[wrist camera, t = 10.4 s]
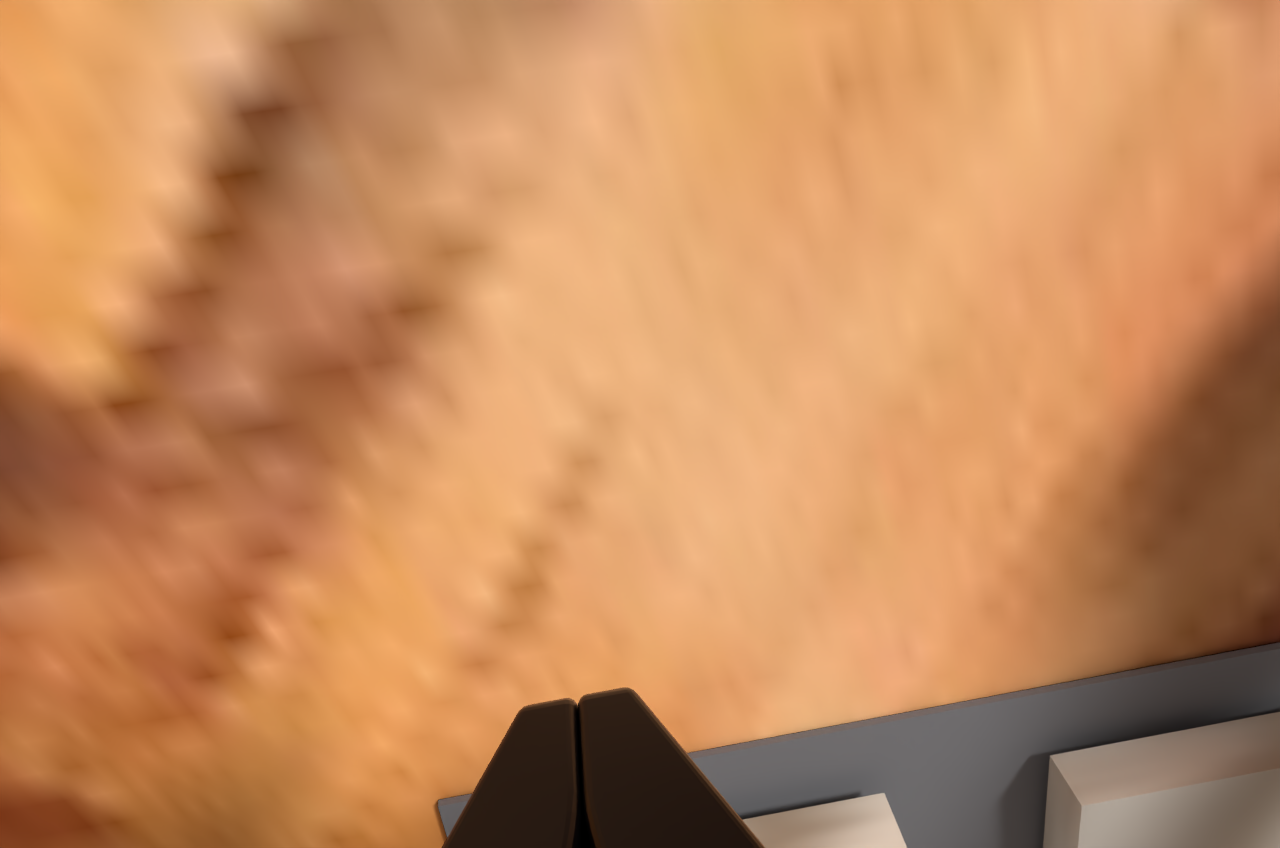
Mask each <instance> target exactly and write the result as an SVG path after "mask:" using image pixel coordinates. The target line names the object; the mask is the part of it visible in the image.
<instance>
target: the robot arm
mask: <svg viewBox="0 0 1280 848" xmlns="http://www.w3.org/2000/svg"><path fill="white" fill-rule="evenodd" d="M442 848H765V847H764V845H763V844H762V843H761V842H760V841H759V839H758V838H757V837H756V836H755V835H754V833H753V832H752V831H751V830H750V829H749V827H748V826H747V825H746V824H745V823H744V821H743V820H742V819H741V818H740V817H739V815H738V814H737V813H736V812H735V811H734V809H733V808H732V807H731V806H730V805H729V803H728V802H727V801H726V800H725V799H724V797H723V796H722V795H721V794H720V793H719V791H718V790H717V789H716V788H715V787H714V785H713V784H712V783H711V782H710V781H709V779H708V778H707V777H706V776H705V775H704V773H703V772H702V771H701V770H700V769H699V767H698V766H697V765H696V764H695V763H694V761H693V760H692V759H691V758H690V757H689V755H688V754H687V753H686V752H685V750H684V749H683V748H682V747H681V746H680V744H679V743H678V742H677V741H676V740H675V738H674V737H673V736H672V735H671V734H670V732H669V731H668V730H667V729H666V728H665V726H664V725H663V724H662V723H661V722H660V720H659V719H658V718H657V717H656V716H655V714H654V713H653V712H652V711H651V710H650V708H649V707H648V706H647V705H646V704H645V702H644V701H643V700H642V699H641V698H640V696H639V695H638V694H637V693H636V692H635V691H634V690H632V689H630V688H619V689H613V690H608V691H602V692H597V693H592V694H587V695H584V696H583V697H582V698H581V699H580V701H579V703H578V705H577V703H576V702H575V701H574V700H572V699H570V698H564V699H559V700H553V701H548V702H543V703H537V704H532V705H528V706H525V707H523V708H522V709H521V710H520V711H519V712H518V714H517V715H516V717H515V719H514V721H513V722H512V724H511V726H510V728H509V729H508V731H507V733H506V735H505V737H504V738H503V740H502V742H501V744H500V745H499V747H498V749H497V751H496V753H495V754H494V756H493V758H492V760H491V761H490V763H489V765H488V767H487V768H486V770H485V772H484V774H483V776H482V777H481V779H480V781H479V783H478V784H477V786H476V788H475V790H474V792H473V793H472V795H471V797H470V799H469V800H468V802H467V804H466V806H465V807H464V809H463V811H462V813H461V815H460V816H459V818H458V820H457V822H456V823H455V825H454V827H453V829H452V831H451V832H450V834H449V836H448V838H447V839H446V841H445V843H444V845H443V846H442Z"/></svg>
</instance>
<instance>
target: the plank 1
mask: <svg viewBox="0 0 1280 848" xmlns="http://www.w3.org/2000/svg"><path fill="white" fill-rule="evenodd" d="M743 821H744V823H745V824H746V825H747V826H748V827H749V829H750V830H751V831H752V832H753V833H754V835H755V836H756V837H757V838H758V839H759V841H760V842H761V843H762V844H763V845H764V847H765V848H907V846H906V844H905V842H904V839H903V837H902V834H901V832H900V829H899V827H898V825H897V822H896V820H895V817H894V815H893V813H892V810H891V808H890V805H889V803H888V801H887V798H886V796H885V793H880V794H875V795H869V796H864V797H859V798H854V799H848V800H843V801H838V802H833V803H827V804H822V805H817V806H812V807H806V808H801V809H796V810H791V811H785V812H780V813H775V814H770V815H764V816H759V817H754V818H749V819H743Z"/></svg>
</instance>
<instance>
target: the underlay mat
mask: <svg viewBox="0 0 1280 848" xmlns="http://www.w3.org/2000/svg"><path fill="white" fill-rule="evenodd" d="M1276 712H1280V643H1274V644H1269V645H1263V646H1258V647H1253V648H1247V649H1242V650H1237V651H1231V652H1226V653H1221V654H1215V655H1210V656H1205V657H1199V658H1194V659H1189V660H1183V661H1178V662H1173V663H1167V664H1162V665H1157V666H1151V667H1146V668H1141V669H1135V670H1130V671H1125V672H1119V673H1114V674H1108V675H1103V676H1098V677H1092V678H1087V679H1082V680H1076V681H1071V682H1066V683H1060V684H1055V685H1050V686H1044V687H1039V688H1034V689H1028V690H1023V691H1018V692H1012V693H1007V694H1002V695H996V696H991V697H986V698H980V699H975V700H970V701H964V702H959V703H953V704H948V705H943V706H937V707H932V708H927V709H921V710H916V711H911V712H905V713H900V714H895V715H889V716H884V717H879V718H873V719H868V720H863V721H857V722H852V723H847V724H841V725H836V726H831V727H825V728H820V729H815V730H809V731H804V732H798V733H793V734H788V735H782V736H777V737H772V738H766V739H761V740H756V741H750V742H745V743H740V744H734V745H729V746H724V747H718V748H713V749H708V750H702V751H697V752H692V753H687V754H688V755H689V757H690V758H691V759H692V760H693V761H694V763H695V764H696V765H697V766H698V767H699V769H700V770H701V771H702V772H703V773H704V775H705V776H706V777H707V778H708V779H709V781H710V782H711V783H712V784H713V785H714V787H715V788H716V789H717V790H718V791H719V793H720V794H721V795H722V796H723V797H724V799H725V800H726V801H727V802H728V803H729V805H730V806H731V807H732V808H733V809H734V811H735V812H736V813H737V814H738V815H739V817H740V818H741V819H742V820H743V819H749V818H754V817H759V816H764V815H770V814H775V813H780V812H785V811H791V810H796V809H801V808H806V807H812V806H817V805H822V804H827V803H833V802H838V801H843V800H848V799H854V798H859V797H864V796H869V795H875V794H880V793H885V796H886V798H887V801H888V803H889V805H890V808H891V810H892V813H893V815H894V817H895V820H896V822H897V825H898V827H899V829H900V832H901V834H902V837H903V839H904V842H905V844H906V846H907V848H1043V841H1044V827H1045V814H1046V801H1047V787H1048V774H1049V761H1050V755H1055V754H1060V753H1066V752H1071V751H1076V750H1081V749H1087V748H1092V747H1097V746H1102V745H1108V744H1113V743H1118V742H1123V741H1129V740H1134V739H1139V738H1144V737H1150V736H1155V735H1160V734H1166V733H1171V732H1176V731H1181V730H1187V729H1192V728H1197V727H1202V726H1208V725H1213V724H1218V723H1223V722H1229V721H1234V720H1239V719H1244V718H1250V717H1255V716H1260V715H1265V714H1271V713H1276ZM471 795H472V794H467V795H462V796H456V797H451V798H446V799H440V800H438V809H439V812H440V815H441V819H442V822H443V825H444V829H445V832H446V835H447V838H448V836H449V834H450V832H451V831H452V829H453V827H454V825H455V823H456V822H457V820H458V818H459V816H460V815H461V813H462V811H463V809H464V807H465V806H466V804H467V802H468V800H469V799H470V797H471Z"/></svg>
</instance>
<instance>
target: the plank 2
mask: <svg viewBox="0 0 1280 848" xmlns="http://www.w3.org/2000/svg"><path fill="white" fill-rule="evenodd" d="M1043 848H1280V712H1276V713H1271V714H1265V715H1260V716H1255V717H1250V718H1244V719H1239V720H1234V721H1229V722H1223V723H1218V724H1213V725H1208V726H1202V727H1197V728H1192V729H1187V730H1181V731H1176V732H1171V733H1166V734H1160V735H1155V736H1150V737H1144V738H1139V739H1134V740H1129V741H1123V742H1118V743H1113V744H1108V745H1102V746H1097V747H1092V748H1087V749H1081V750H1076V751H1071V752H1066V753H1060V754H1055V755H1050V761H1049V774H1048V787H1047V801H1046V814H1045V827H1044V841H1043Z"/></svg>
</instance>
